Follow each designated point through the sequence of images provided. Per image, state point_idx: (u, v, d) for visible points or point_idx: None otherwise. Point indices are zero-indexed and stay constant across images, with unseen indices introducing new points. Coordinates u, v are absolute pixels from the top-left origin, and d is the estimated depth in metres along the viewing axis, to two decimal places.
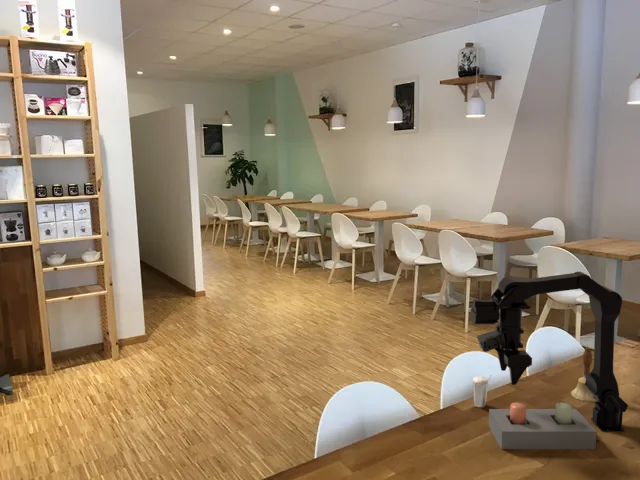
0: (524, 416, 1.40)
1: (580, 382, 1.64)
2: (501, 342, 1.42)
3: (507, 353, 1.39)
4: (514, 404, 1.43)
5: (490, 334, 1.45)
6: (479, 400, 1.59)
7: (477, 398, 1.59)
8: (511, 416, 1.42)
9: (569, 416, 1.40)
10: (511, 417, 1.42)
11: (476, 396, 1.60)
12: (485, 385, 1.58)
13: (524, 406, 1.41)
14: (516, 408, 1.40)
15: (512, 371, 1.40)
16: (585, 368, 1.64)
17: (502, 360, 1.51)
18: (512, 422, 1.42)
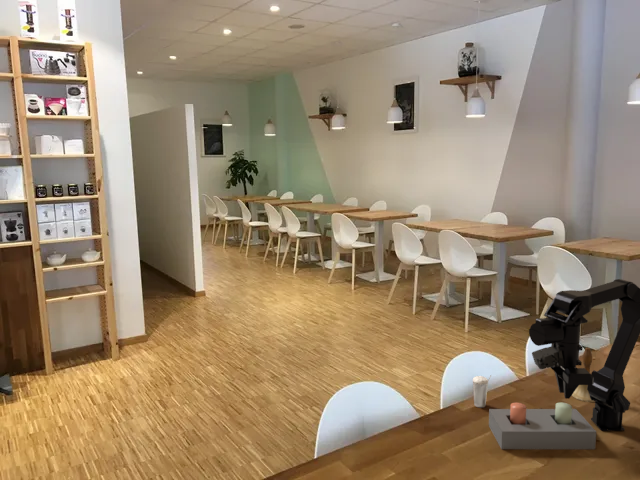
0: (524, 416, 1.40)
1: None
2: (559, 359, 1.36)
3: (567, 371, 1.33)
4: (514, 404, 1.43)
5: (546, 350, 1.39)
6: (479, 400, 1.59)
7: (477, 398, 1.59)
8: (511, 416, 1.42)
9: (569, 416, 1.40)
10: (511, 417, 1.42)
11: (476, 396, 1.60)
12: (485, 385, 1.58)
13: (524, 406, 1.41)
14: (516, 408, 1.40)
15: (566, 385, 1.37)
16: (585, 368, 1.64)
17: (561, 381, 1.42)
18: (512, 422, 1.42)
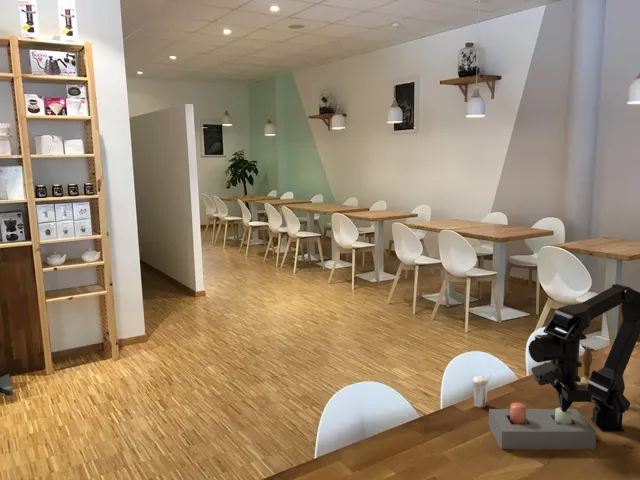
0: (524, 416, 1.40)
1: (580, 382, 1.64)
2: (558, 376, 1.37)
3: (566, 388, 1.33)
4: (514, 404, 1.43)
5: (545, 366, 1.40)
6: (479, 400, 1.59)
7: (477, 398, 1.59)
8: (511, 416, 1.42)
9: (569, 421, 1.40)
10: (511, 417, 1.42)
11: (476, 396, 1.60)
12: (485, 385, 1.58)
13: (524, 406, 1.41)
14: (516, 408, 1.40)
15: (563, 398, 1.39)
16: (585, 368, 1.64)
17: None
18: (512, 422, 1.42)
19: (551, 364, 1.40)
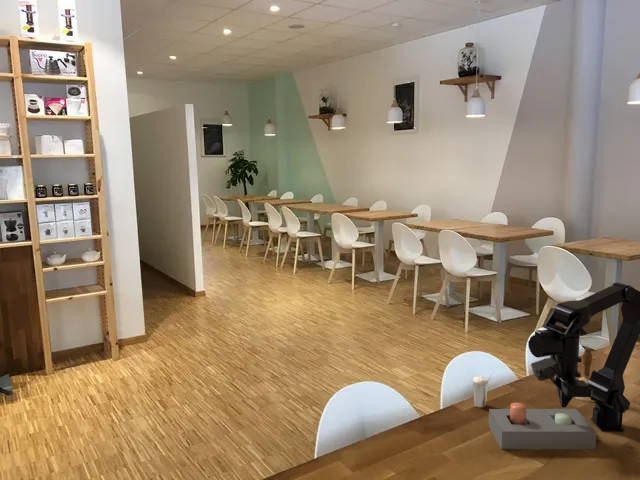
0: (524, 416, 1.40)
1: None
2: (558, 371, 1.37)
3: (565, 383, 1.33)
4: (514, 404, 1.43)
5: (545, 362, 1.40)
6: (479, 400, 1.59)
7: (477, 398, 1.59)
8: (511, 416, 1.42)
9: None
10: (511, 417, 1.42)
11: (476, 396, 1.60)
12: (485, 385, 1.58)
13: (524, 406, 1.41)
14: (516, 408, 1.40)
15: (563, 394, 1.39)
16: (585, 368, 1.64)
17: None
18: (512, 422, 1.42)
19: (551, 359, 1.40)
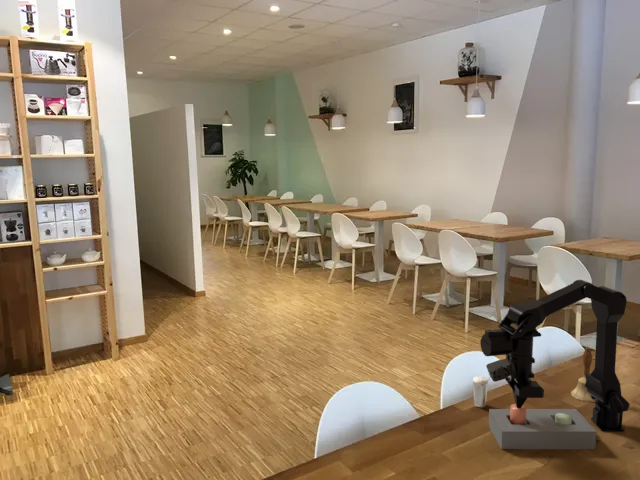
0: (524, 417, 1.40)
1: (580, 382, 1.64)
2: (511, 372, 1.37)
3: (518, 384, 1.34)
4: (514, 405, 1.43)
5: (500, 363, 1.40)
6: (479, 400, 1.59)
7: (477, 398, 1.59)
8: (511, 417, 1.42)
9: None
10: (511, 418, 1.42)
11: (476, 396, 1.60)
12: (485, 385, 1.58)
13: (524, 407, 1.41)
14: (516, 409, 1.40)
15: (517, 394, 1.39)
16: (585, 368, 1.64)
17: None
18: (512, 423, 1.42)
19: (506, 360, 1.40)
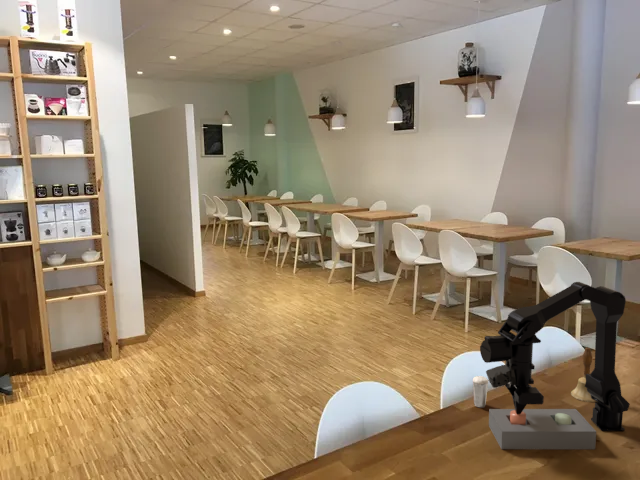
0: (524, 424, 1.41)
1: (580, 382, 1.64)
2: (511, 378, 1.37)
3: (517, 390, 1.34)
4: (514, 412, 1.43)
5: (499, 369, 1.41)
6: (479, 400, 1.59)
7: (477, 398, 1.59)
8: (511, 424, 1.42)
9: None
10: None
11: (476, 396, 1.60)
12: (485, 385, 1.58)
13: (524, 414, 1.42)
14: (516, 416, 1.41)
15: (517, 401, 1.40)
16: (585, 368, 1.64)
17: None
18: None
19: (505, 366, 1.41)
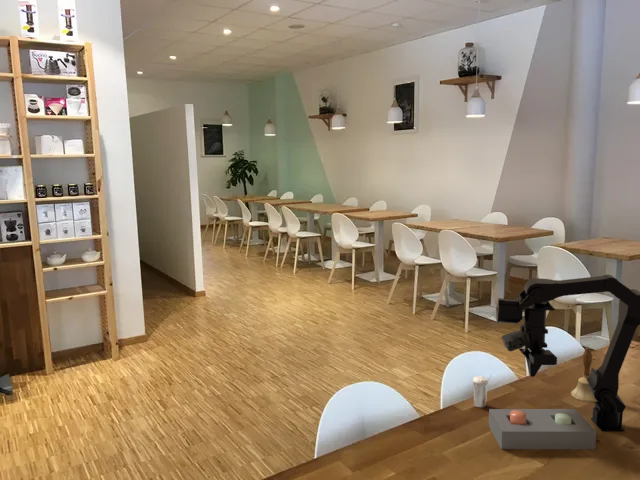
0: (524, 424, 1.41)
1: (580, 382, 1.64)
2: (526, 342, 1.46)
3: (532, 352, 1.43)
4: (514, 412, 1.43)
5: (515, 334, 1.49)
6: (479, 400, 1.59)
7: (477, 398, 1.59)
8: (511, 424, 1.42)
9: None
10: None
11: (476, 396, 1.60)
12: (485, 385, 1.58)
13: (524, 414, 1.42)
14: (516, 416, 1.41)
15: (531, 364, 1.48)
16: (585, 368, 1.64)
17: None
18: None
19: (520, 332, 1.49)
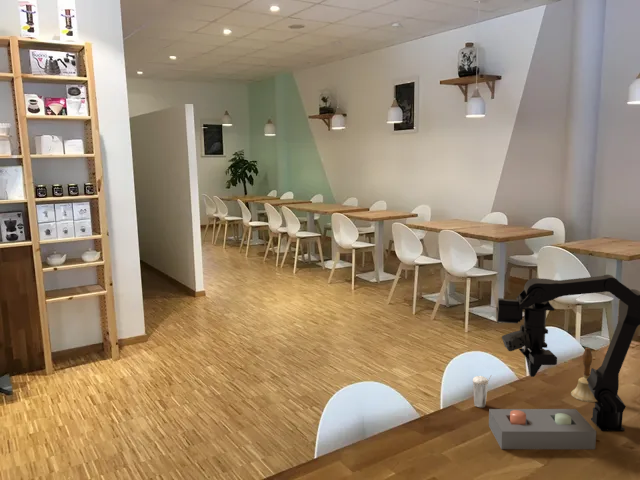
0: (524, 424, 1.41)
1: (580, 382, 1.64)
2: (526, 342, 1.46)
3: (532, 352, 1.43)
4: (514, 412, 1.43)
5: (515, 334, 1.49)
6: (479, 400, 1.59)
7: (477, 398, 1.59)
8: (511, 424, 1.42)
9: None
10: None
11: (476, 396, 1.60)
12: (485, 385, 1.58)
13: (524, 414, 1.42)
14: (516, 416, 1.41)
15: (531, 364, 1.48)
16: (585, 368, 1.64)
17: None
18: None
19: (520, 332, 1.49)
